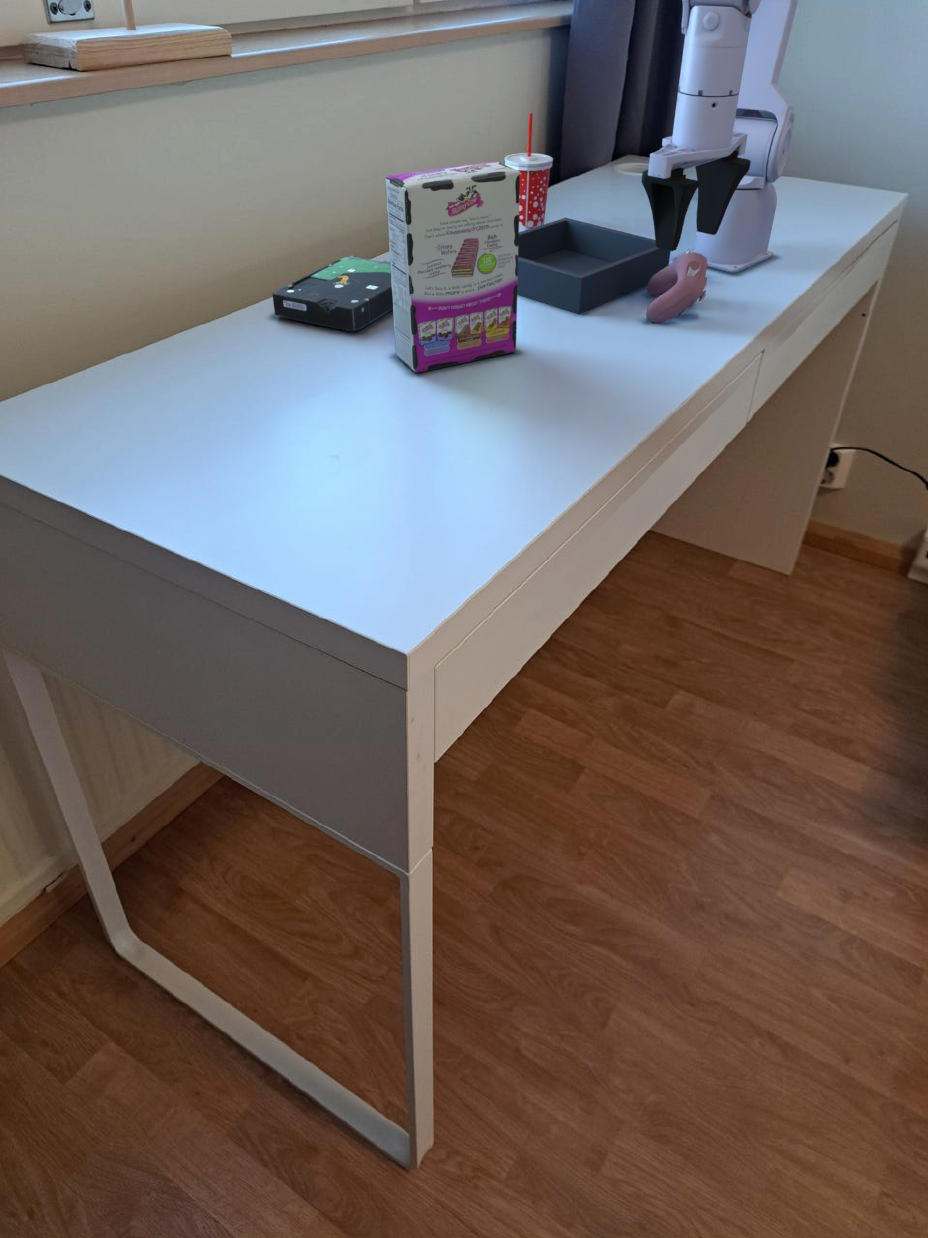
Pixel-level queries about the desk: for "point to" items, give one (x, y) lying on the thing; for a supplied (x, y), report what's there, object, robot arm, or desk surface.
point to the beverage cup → (531, 183)
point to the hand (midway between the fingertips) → (686, 240)
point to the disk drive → (339, 294)
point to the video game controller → (677, 287)
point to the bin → (584, 264)
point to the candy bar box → (454, 263)
